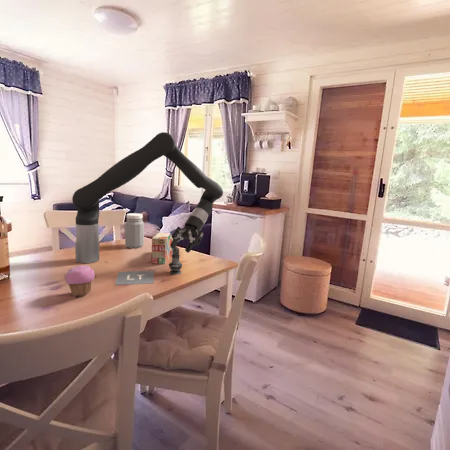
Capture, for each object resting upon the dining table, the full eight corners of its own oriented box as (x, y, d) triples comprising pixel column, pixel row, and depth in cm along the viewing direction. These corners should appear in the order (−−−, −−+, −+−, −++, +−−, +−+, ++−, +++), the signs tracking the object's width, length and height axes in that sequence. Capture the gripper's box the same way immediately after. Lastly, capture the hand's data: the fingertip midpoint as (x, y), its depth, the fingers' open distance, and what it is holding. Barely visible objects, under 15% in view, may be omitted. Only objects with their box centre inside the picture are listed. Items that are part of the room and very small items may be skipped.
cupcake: (98, 288, 103) (97, 262, 101) (91, 299, 95) (90, 270, 93) (71, 289, 101) (69, 262, 100) (61, 300, 93) (60, 270, 91)
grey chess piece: (184, 271, 125) (185, 244, 123) (178, 275, 120) (178, 247, 118) (172, 269, 127) (173, 242, 125) (165, 273, 122) (166, 245, 119)
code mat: (114, 285, 107) (114, 284, 107) (118, 272, 120) (118, 271, 120) (153, 283, 111) (153, 283, 110) (153, 271, 124) (153, 270, 124)
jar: (122, 247, 156) (121, 214, 153) (130, 243, 166) (130, 212, 163) (138, 249, 155) (138, 216, 152) (146, 245, 164) (146, 213, 161)
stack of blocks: (162, 251, 154) (162, 228, 152) (174, 251, 154) (174, 229, 152) (151, 263, 133) (151, 237, 131) (165, 264, 133) (165, 238, 131)
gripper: (181, 212, 131) (162, 241, 124) (206, 217, 124) (187, 247, 116) (188, 223, 137) (171, 251, 129) (212, 227, 129) (195, 257, 122)
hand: (179, 249), depth 123 cm, fingers open, 8 cm apart
